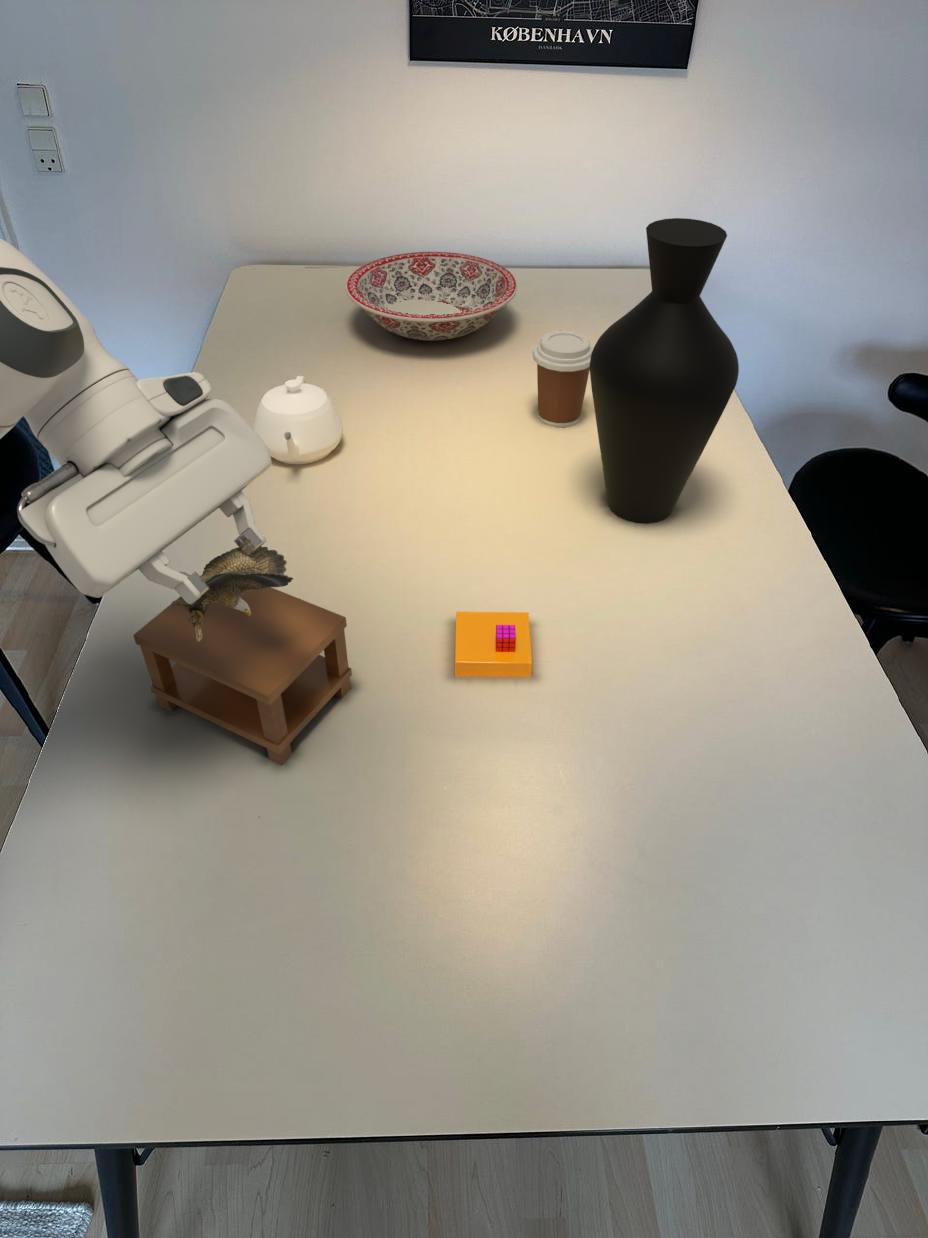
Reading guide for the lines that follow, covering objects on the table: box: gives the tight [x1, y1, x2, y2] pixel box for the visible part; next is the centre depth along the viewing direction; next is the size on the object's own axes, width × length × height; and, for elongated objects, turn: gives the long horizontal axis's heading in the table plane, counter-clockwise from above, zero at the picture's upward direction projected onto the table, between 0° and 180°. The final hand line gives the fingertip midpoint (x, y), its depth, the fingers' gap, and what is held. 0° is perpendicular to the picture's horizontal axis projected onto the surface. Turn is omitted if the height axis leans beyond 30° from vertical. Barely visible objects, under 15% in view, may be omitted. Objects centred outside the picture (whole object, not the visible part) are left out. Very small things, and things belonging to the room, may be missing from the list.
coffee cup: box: [532, 330, 594, 428], centre depth 132 cm, size 9×9×12 cm
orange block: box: [454, 611, 533, 678], centre depth 97 cm, size 8×8×4 cm
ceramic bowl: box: [345, 251, 518, 341], centre depth 156 cm, size 29×29×8 cm
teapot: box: [252, 375, 344, 465], centre depth 125 cm, size 20×12×10 cm, turn 3°
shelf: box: [132, 587, 353, 766], centre depth 89 cm, size 12×16×10 cm
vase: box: [589, 217, 740, 525], centre depth 107 cm, size 17×17×35 cm
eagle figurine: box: [171, 546, 294, 642], centre depth 74 cm, size 8×7×9 cm
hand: (230, 572), depth 74 cm, fingers closed on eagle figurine, 6 cm apart
